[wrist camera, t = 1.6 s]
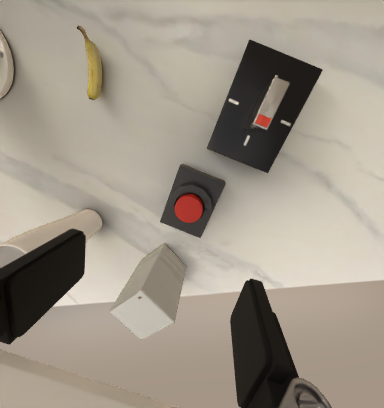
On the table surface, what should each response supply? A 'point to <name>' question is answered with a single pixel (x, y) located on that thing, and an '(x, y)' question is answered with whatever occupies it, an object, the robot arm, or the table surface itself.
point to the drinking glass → (49, 234)
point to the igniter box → (196, 185)
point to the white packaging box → (151, 293)
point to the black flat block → (247, 99)
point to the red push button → (189, 208)
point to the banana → (93, 67)
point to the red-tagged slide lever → (267, 105)
